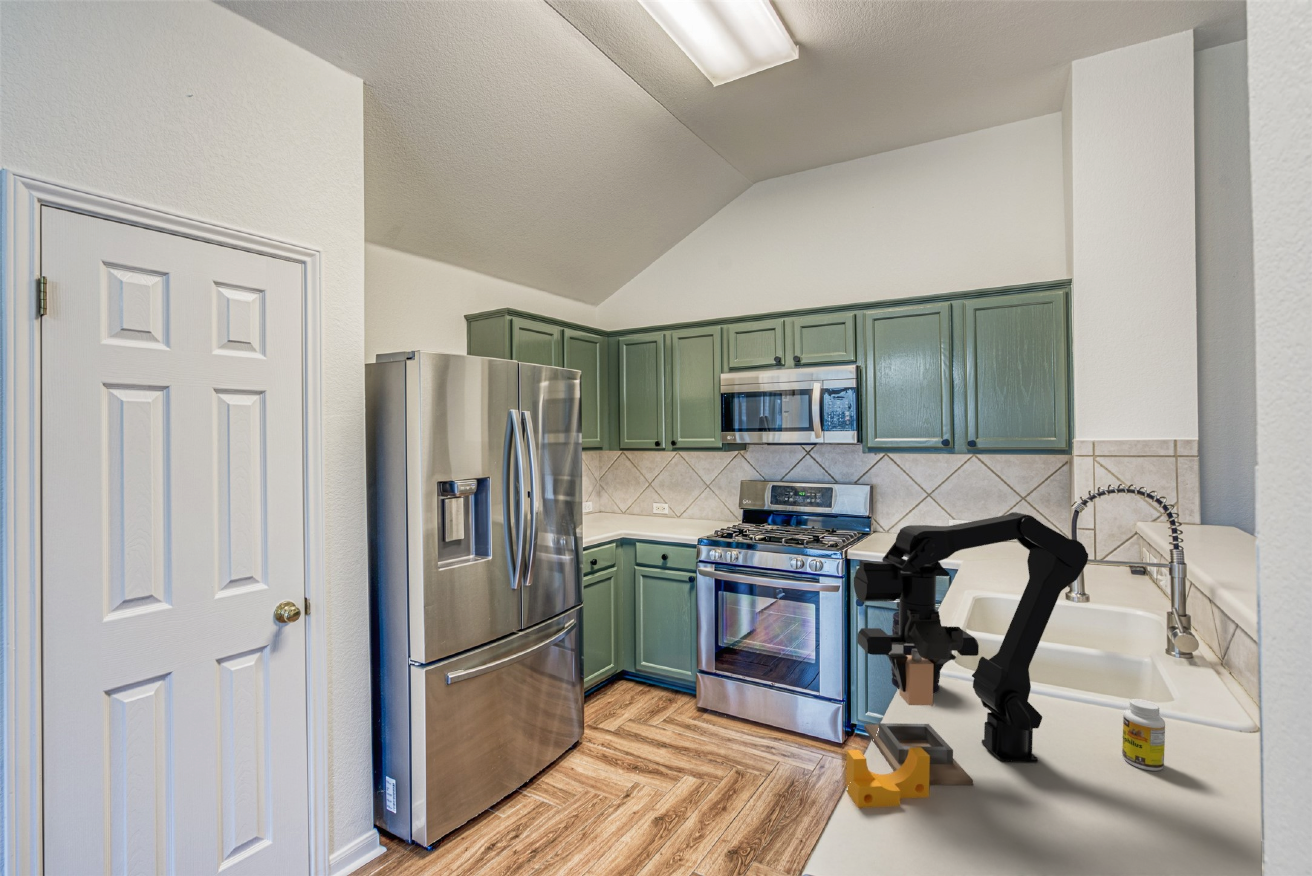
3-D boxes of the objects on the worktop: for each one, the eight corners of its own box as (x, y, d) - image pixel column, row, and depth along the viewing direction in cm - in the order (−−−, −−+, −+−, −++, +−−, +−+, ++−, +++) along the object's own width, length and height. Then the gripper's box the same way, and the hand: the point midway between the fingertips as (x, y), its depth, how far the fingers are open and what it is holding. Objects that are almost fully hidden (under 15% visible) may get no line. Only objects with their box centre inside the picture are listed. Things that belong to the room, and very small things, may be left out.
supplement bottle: (1113, 754, 107) (1115, 696, 107) (1145, 754, 107) (1146, 696, 107) (1140, 772, 102) (1142, 711, 101) (1172, 772, 102) (1174, 711, 102)
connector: (922, 695, 108) (923, 646, 108) (932, 705, 104) (933, 654, 104) (899, 694, 108) (900, 646, 108) (909, 705, 104) (909, 654, 104)
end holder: (922, 729, 115) (923, 712, 115) (972, 784, 97) (973, 764, 97) (864, 728, 115) (864, 711, 115) (903, 784, 97) (903, 764, 97)
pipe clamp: (858, 808, 91) (858, 765, 91) (846, 791, 95) (846, 750, 95) (935, 804, 92) (936, 761, 92) (919, 787, 97) (920, 747, 97)
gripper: (880, 614, 98) (878, 712, 98) (998, 615, 98) (995, 713, 98) (857, 595, 109) (855, 683, 109) (962, 596, 109) (960, 684, 109)
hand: (915, 691), depth 106 cm, fingers closed on connector, 4 cm apart
